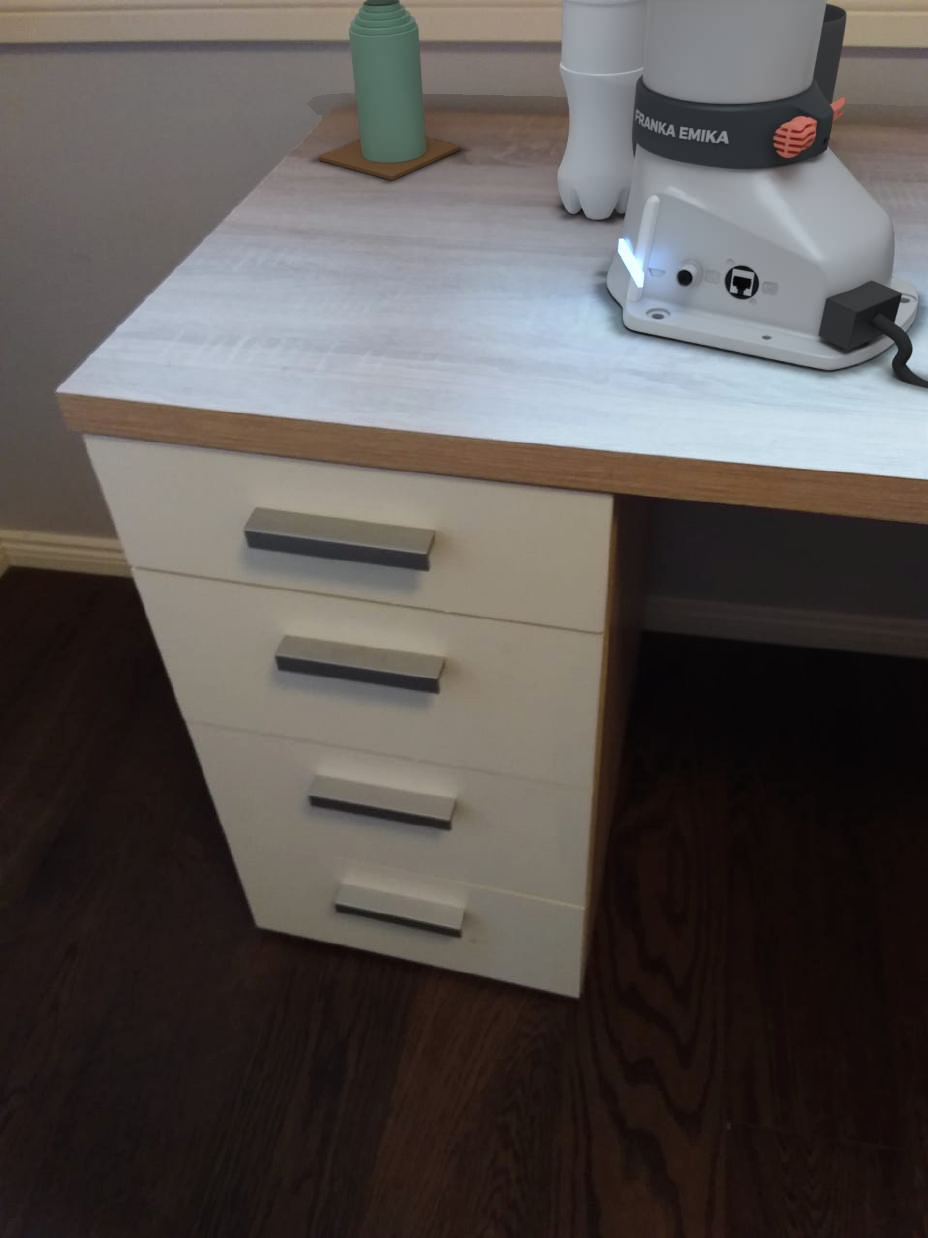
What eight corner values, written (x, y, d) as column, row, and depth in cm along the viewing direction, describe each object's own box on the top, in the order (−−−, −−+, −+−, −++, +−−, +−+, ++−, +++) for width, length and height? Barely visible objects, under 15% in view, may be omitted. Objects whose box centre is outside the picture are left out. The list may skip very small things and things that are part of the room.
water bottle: (638, 192, 91) (663, -156, 74) (640, 224, 86) (668, -143, 69) (557, 193, 92) (564, -152, 75) (555, 224, 87) (562, -139, 70)
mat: (460, 149, 101) (460, 145, 101) (392, 180, 96) (392, 175, 96) (387, 132, 106) (387, 128, 106) (319, 160, 101) (318, 156, 101)
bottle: (439, 148, 101) (429, -30, 90) (395, 167, 97) (380, -16, 87) (392, 137, 104) (377, -37, 94) (348, 155, 100) (328, -24, 90)
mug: (839, 151, 97) (867, 7, 88) (790, 180, 92) (815, 30, 84) (715, 125, 104) (731, -11, 95) (664, 150, 99) (676, 9, 91)
